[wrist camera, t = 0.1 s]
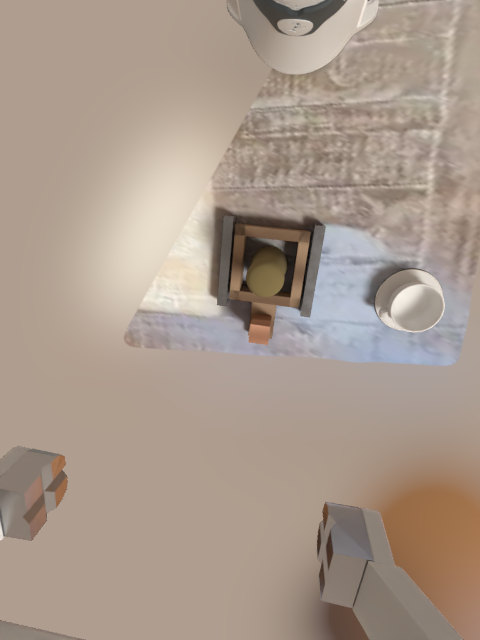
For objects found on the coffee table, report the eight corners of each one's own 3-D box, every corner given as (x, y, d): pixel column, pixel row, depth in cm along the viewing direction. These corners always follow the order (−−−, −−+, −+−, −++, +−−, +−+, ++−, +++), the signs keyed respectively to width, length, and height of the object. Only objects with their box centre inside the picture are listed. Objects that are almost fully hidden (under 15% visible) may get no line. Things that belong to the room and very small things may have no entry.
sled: (238, 222, 54) (232, 226, 49) (309, 230, 53) (312, 235, 48) (229, 329, 61) (222, 344, 55) (292, 338, 60) (292, 354, 54)
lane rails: (226, 214, 54) (223, 215, 52) (324, 225, 53) (325, 226, 51) (219, 300, 59) (217, 305, 57) (309, 312, 58) (309, 317, 56)
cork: (272, 290, 58) (268, 311, 47) (242, 268, 57) (232, 285, 47) (296, 261, 55) (297, 277, 45) (265, 238, 55) (259, 248, 45)
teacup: (435, 260, 53) (448, 266, 48) (446, 319, 56) (459, 330, 51) (367, 279, 55) (374, 287, 51) (381, 336, 58) (388, 347, 54)
